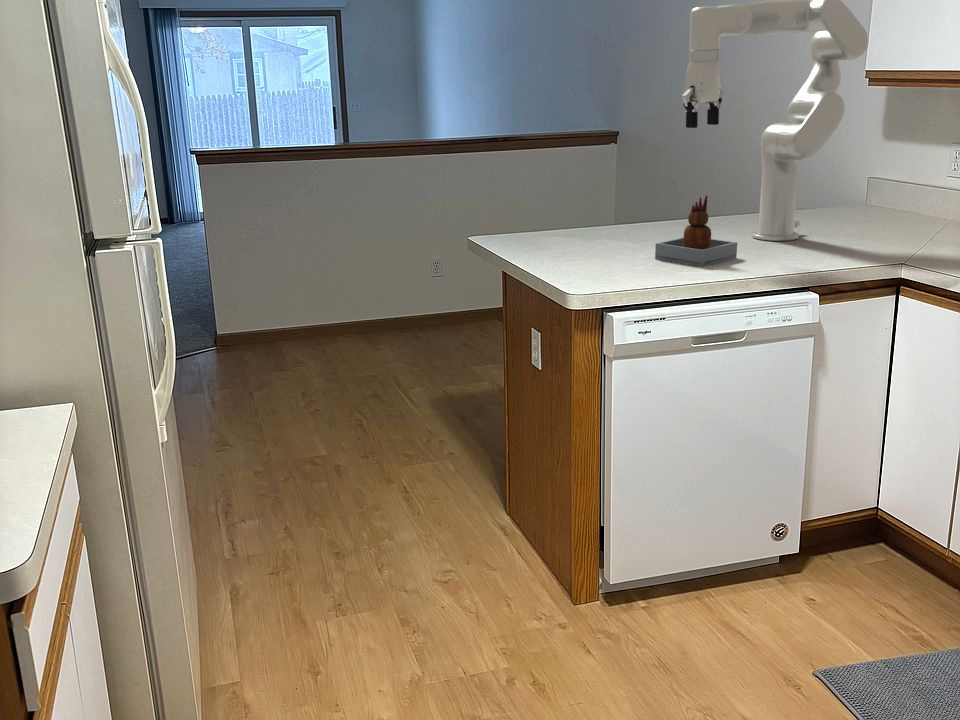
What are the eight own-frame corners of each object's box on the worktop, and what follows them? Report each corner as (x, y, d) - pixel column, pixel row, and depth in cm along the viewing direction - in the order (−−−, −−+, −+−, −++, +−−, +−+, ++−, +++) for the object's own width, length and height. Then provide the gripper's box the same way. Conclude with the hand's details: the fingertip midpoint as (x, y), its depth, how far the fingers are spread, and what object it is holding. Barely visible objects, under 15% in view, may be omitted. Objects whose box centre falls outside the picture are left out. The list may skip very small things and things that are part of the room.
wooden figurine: (711, 252, 238) (714, 194, 233) (708, 257, 232) (711, 197, 228) (684, 251, 240) (687, 193, 235) (681, 255, 235) (683, 196, 230)
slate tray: (689, 250, 246) (690, 235, 245) (736, 257, 236) (737, 242, 234) (655, 258, 237) (655, 243, 236) (702, 266, 227) (703, 250, 225)
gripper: (710, 57, 245) (708, 123, 250) (672, 59, 233) (671, 128, 239) (735, 56, 239) (732, 123, 245) (697, 58, 228) (695, 129, 234)
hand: (702, 126), depth 242 cm, fingers open, 9 cm apart
